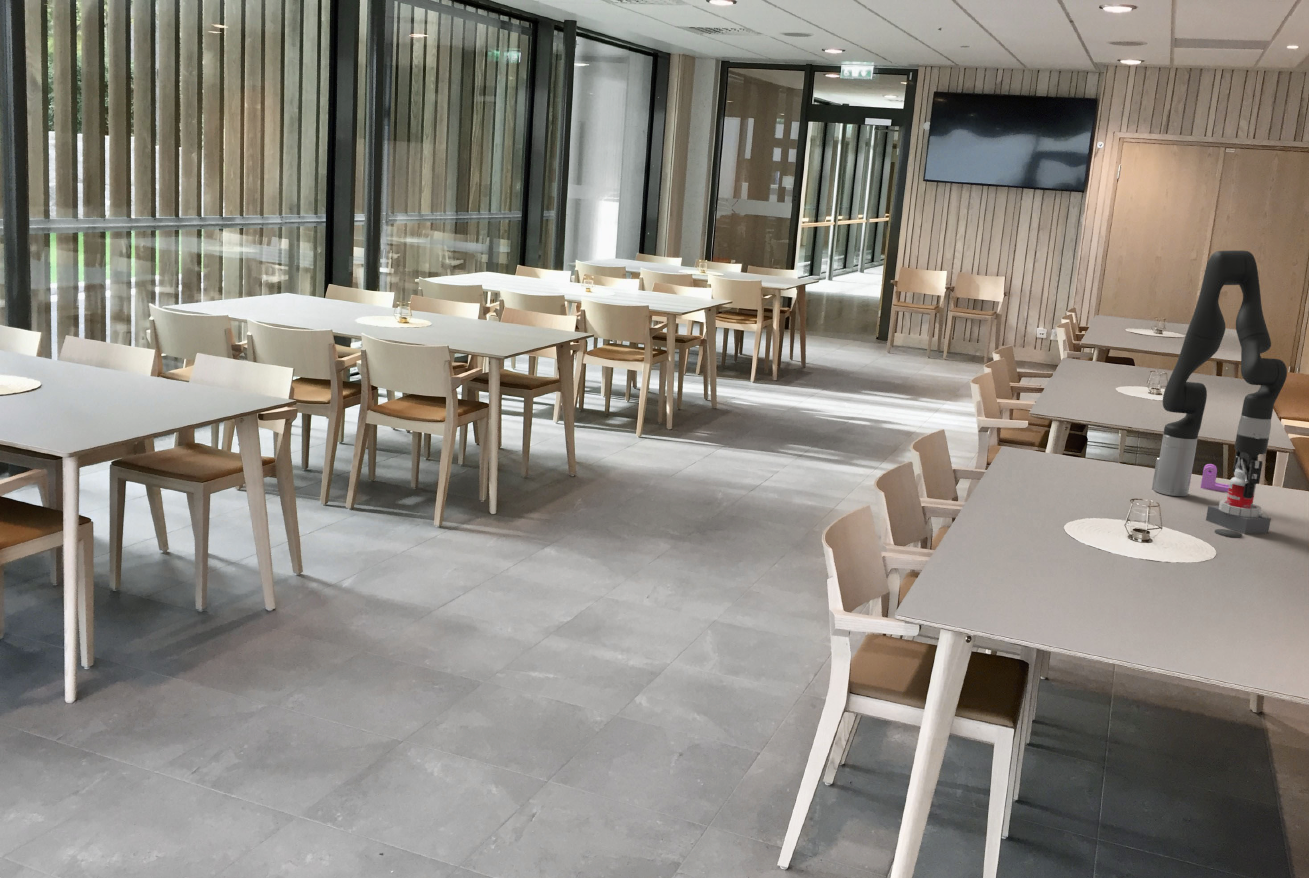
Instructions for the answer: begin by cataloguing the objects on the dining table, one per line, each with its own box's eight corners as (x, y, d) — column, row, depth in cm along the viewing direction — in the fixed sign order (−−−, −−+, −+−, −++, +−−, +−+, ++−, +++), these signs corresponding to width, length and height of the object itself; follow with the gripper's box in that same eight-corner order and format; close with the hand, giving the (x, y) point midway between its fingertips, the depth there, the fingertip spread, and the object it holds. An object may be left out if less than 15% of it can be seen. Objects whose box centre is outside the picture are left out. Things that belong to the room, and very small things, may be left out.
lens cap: (1208, 532, 293) (1209, 529, 293) (1227, 531, 295) (1228, 528, 295) (1228, 539, 287) (1228, 536, 287) (1247, 538, 289) (1248, 535, 289)
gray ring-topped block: (1203, 520, 304) (1207, 498, 303) (1231, 519, 307) (1234, 497, 306) (1242, 534, 292) (1246, 511, 291) (1270, 532, 295) (1274, 510, 294)
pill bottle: (1220, 508, 301) (1226, 467, 299) (1240, 508, 302) (1247, 468, 300) (1235, 514, 295) (1242, 473, 293) (1256, 515, 296) (1263, 474, 294)
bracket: (1200, 488, 344) (1204, 466, 343) (1200, 484, 349) (1204, 462, 348) (1247, 495, 339) (1252, 473, 337) (1247, 492, 343) (1251, 469, 342)
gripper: (1229, 427, 302) (1219, 486, 305) (1246, 437, 288) (1235, 498, 291) (1259, 430, 301) (1249, 489, 304) (1277, 440, 287) (1266, 502, 290)
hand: (1242, 494), depth 298 cm, fingers open, 8 cm apart
